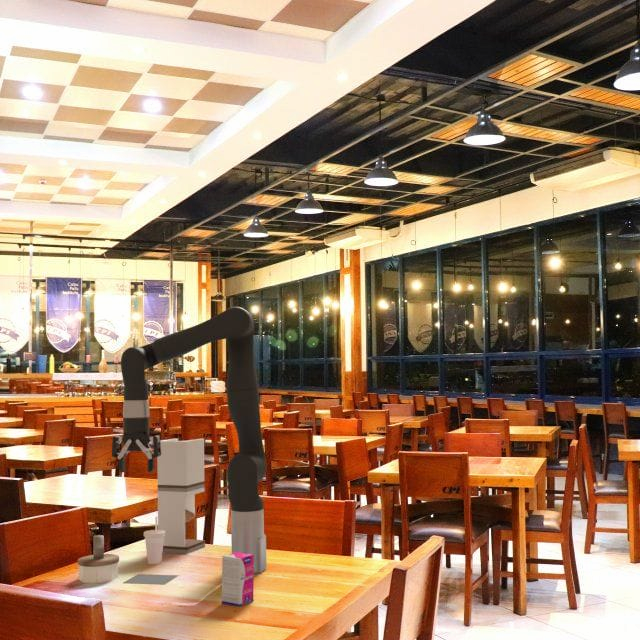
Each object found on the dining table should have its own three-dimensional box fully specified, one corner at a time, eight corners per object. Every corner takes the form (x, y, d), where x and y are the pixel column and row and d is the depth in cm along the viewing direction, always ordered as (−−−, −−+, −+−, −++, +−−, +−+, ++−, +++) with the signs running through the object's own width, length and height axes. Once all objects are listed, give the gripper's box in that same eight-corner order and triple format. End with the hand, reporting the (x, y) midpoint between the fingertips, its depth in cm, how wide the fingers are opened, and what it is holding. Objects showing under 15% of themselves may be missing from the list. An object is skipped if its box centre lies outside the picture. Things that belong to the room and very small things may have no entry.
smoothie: (163, 567, 242) (162, 518, 243) (141, 567, 242) (141, 518, 243) (167, 562, 248) (167, 514, 249) (146, 562, 248) (146, 515, 249)
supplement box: (240, 607, 198) (239, 558, 199) (221, 603, 202) (220, 555, 202) (254, 601, 203) (254, 553, 204) (235, 598, 206) (235, 551, 207)
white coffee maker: (187, 553, 259) (186, 441, 262) (158, 551, 263) (157, 441, 265) (205, 546, 270) (203, 438, 272) (176, 544, 274) (175, 438, 276)
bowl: (122, 576, 231) (122, 558, 231) (106, 585, 221) (106, 566, 222) (90, 575, 233) (90, 557, 233) (73, 584, 223) (73, 565, 224)
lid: (125, 558, 232) (125, 532, 232) (108, 567, 221) (108, 540, 221) (89, 557, 234) (89, 532, 234) (70, 566, 223) (70, 539, 224)
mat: (178, 577, 229) (178, 575, 229) (164, 586, 219) (164, 584, 219) (138, 576, 231) (138, 574, 231) (122, 585, 221) (122, 583, 221)
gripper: (164, 415, 243) (164, 470, 242) (119, 415, 246) (119, 470, 245) (154, 416, 235) (154, 473, 234) (107, 416, 238) (107, 473, 237)
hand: (136, 472), depth 239 cm, fingers open, 8 cm apart
